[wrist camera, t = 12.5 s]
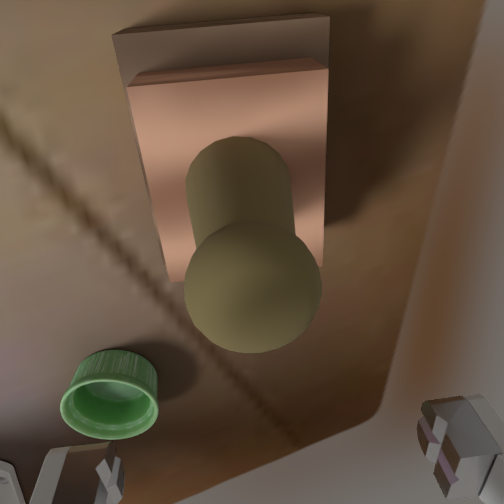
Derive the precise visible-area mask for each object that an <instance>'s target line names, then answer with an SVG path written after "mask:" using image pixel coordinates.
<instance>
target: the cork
mask: <svg viewBox="0 0 504 504" xmlns="http://www.w3.org/2000/svg"><path fill="white" fill-rule="evenodd" d="M185 184H186V199H187V204H188V209H189V214H190V219H191V224H192V229H193V234H194V240H195V245H196V250H195V252H194V254H193V255H192V257H191V260H190V263H189V265H188V268H187V270H186V273H185V280H184V298H185V304H186V307H187V310H188V312H189V315H190V317H191V319H192V321H193V323H194V325H195V326H196V327H197V328H198V329H199V330H200V331H201V332H202V333H203V334H204V335H205V336H206V337H207V338H208V339H209V340H210V341H211V342H212V343H214V344H216V345H218V346H220V347H222V348H224V349H226V350H231V351H235V352H240V353H262V352H266V351H270V350H274V349H278V348H280V347H282V346H284V345H286V344H288V343H290V342H292V341H294V340H295V339H296V338H297V337H298V336H299V335H301V334H302V333H303V332H304V331H305V330H306V329H307V327H308V326H309V324H310V322H311V321H312V319H313V317H314V316H315V314H316V312H317V310H318V308H319V303H320V298H321V288H322V283H321V278H320V273H319V268H318V265H317V263H316V260H315V258H314V256H313V255H312V253H311V252H310V250H309V249H308V247H307V246H306V244H305V243H304V242H303V241H302V240H301V239H300V238H299V237H298V236H296V232H295V222H294V211H293V200H292V189H291V181H290V176H289V171H288V167H287V165H286V164H285V162H284V161H283V159H282V157H281V156H280V154H279V153H278V152H277V151H275V150H274V149H273V148H272V147H270V146H269V145H268V144H267V143H265V142H262V141H259V140H257V139H254V138H251V137H236V136H232V137H228V138H225V139H221V140H217V141H215V142H213V143H212V144H210V145H209V146H207V147H206V148H204V149H203V150H201V151H200V152H199V154H198V155H197V156H196V158H195V159H194V160H193V161H192V163H191V164H190V167H189V170H188V173H187V176H186V179H185Z"/></svg>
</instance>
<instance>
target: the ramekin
mask: <svg viewBox="0 0 504 504" xmlns="http://www.w3.org/2000/svg"><path fill="white" fill-rule="evenodd" d="M157 382H158V380H157V373H156V371H155V369H154V367H153V365H152V364H151V363H150V362H149V361H148V360H147V359H145V358H144V357H142V356H140V355H138V354H136V353H133V352H130V351H125V350H105V351H101V352H97V353H95V354H93V355H91V356H89V357H87V358H86V359H85V360H84V361H83V362H82V363H81V364H80V365H79V367H78V369H77V371H76V373H75V375H74V377H73V380H72V382H71V384H70V387H69V388H68V389H67V391H66V392H65V394H64V396H63V398H62V400H61V404H60V412H61V415H62V417H63V419H64V421H65V422H66V423H67V424H68V425H69V426H70V427H71V428H73V429H74V430H76V431H77V432H79V433H81V434H84V435H86V436H89V437H93V438H98V439H106V440H116V439H125V438H130V437H133V436H136V435H139V434H141V433H143V432H145V431H146V430H148V429H149V428H150V427H151V426H152V425H153V424H154V423H155V421H156V419H157V417H158V412H159V406H158V400H157Z"/></svg>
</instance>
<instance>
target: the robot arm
mask: <svg viewBox="0 0 504 504" xmlns="http://www.w3.org/2000/svg"><path fill="white" fill-rule="evenodd" d="M421 411H422V413H423V415H424V416H423V417H422V418H420V419H419V420H418V425H417V434H418V440H419V443H420V446H421V449H422V451H423V453H424V455H425V457H426V458H428V459H429V460H430V461H431V462H433V463H434V464H435V468H434V473H433V474H434V476H435V478H436V480H437V482H438V484H439V486H440V488H441V490H442V493H443V494H444V497H445V498H446V500H448V499H458V498H468V497H477V496H480V497H479V499H480V500H482V501H483V502H484V503H485V504H504V422H503V420H502V419H501V417H500V416H499V415H498V413H497V412H496V410H495V409H494V408H493V406H492V405H491V403H490V402H489V401H488V399H487V398H486V397H485V396H484V395H482V394H474V395H467V396H456V397H449V398H442V399H435V400H428V401H425V402H424V403H422V407H421ZM115 454H116V447H115V445H114V443H113V441H112V442H104V443H95V444H87V445H78V446H68V447H60V448H53V449H50V451H49V452H48V454H47V455H46V457H45V460H44V463H43V465H42V468H41V471H40V474H39V477H38V480H37V482H36V485H35V488H34V491H33V494H32V497H31V500H30V502H29V504H118V502H119V501H120V500H121V499H122V496H123V489H124V468H123V464H122V461H121V459H120V458H118V457H116V456H115ZM0 504H25V501H24V497H23V494H22V491H21V488H20V485H19V482H18V479H17V476H16V473H15V470H14V467H13V466H12V465H11V464H9V463H7V462H3V461H0Z"/></svg>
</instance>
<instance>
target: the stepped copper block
mask: <svg viewBox="0 0 504 504" xmlns="http://www.w3.org/2000/svg"><path fill="white" fill-rule="evenodd" d="M329 36H330V16H327V15H323V14H318V13H304V14H292V15H280V16H269V17H257V18H245V19H233V20H222V21H210V22H198V23H186V24H175V25H163V26H151V27H139V28H128V29H123V30H121V31H119V32H117V33H115V34H113V35H112V39H113V43H114V47H115V52H116V56H117V61H118V65H119V69H120V74H121V78H122V83H123V87H124V91H125V96H126V100H127V105H128V109H129V113H130V118H131V122H132V127H133V131H134V136H135V140H136V144H137V149H138V153H139V158H140V162H141V166H142V171H143V175H144V180H145V184H146V188H147V193H148V197H149V202H150V206H151V210H152V215H153V219H154V224H155V228H156V232H157V237H158V241H159V246H160V250H161V254H162V259H163V263H164V268H165V272H166V273H168V276H169V280H170V282H180V281H184V280H185V273H186V270H187V268H188V265H189V263H190V260H191V257H192V255H193V254H194V252H195V250H196V245H195V240H194V234H193V229H192V224H191V219H190V214H189V209H188V204H187V199H186V184H185V179H186V176H187V173H188V170H189V167H190V164H191V163H192V161H193V160H194V159H195V158H196V156H197V155H198V154H199V152H200V151H201V150H203V149H204V148H206V147H207V146H209V145H210V144H212V143H213V142H215V141H217V140H221V139H225V138H228V137H232V136H236V137H251V138H254V139H257V140H259V141H262V142H265V143H267V144H268V145H269V146H270V147H272V148H273V149H274V150H275V151H277V152H278V153H279V154H280V156H281V157H282V159H283V161H284V162H285V164H286V165H287V167H288V171H289V176H290V181H291V189H292V200H293V211H294V222H295V232H296V236H298V237H299V238H300V239H301V240H302V241H303V242H304V243H305V244H306V246H307V247H308V249H309V250H310V252H311V253H312V255H313V256H314V258H315V260H316V263H317V265H318V267H320V266H323V234H324V202H325V170H326V137H327V105H328V73H329V69H328V68H329Z"/></svg>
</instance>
